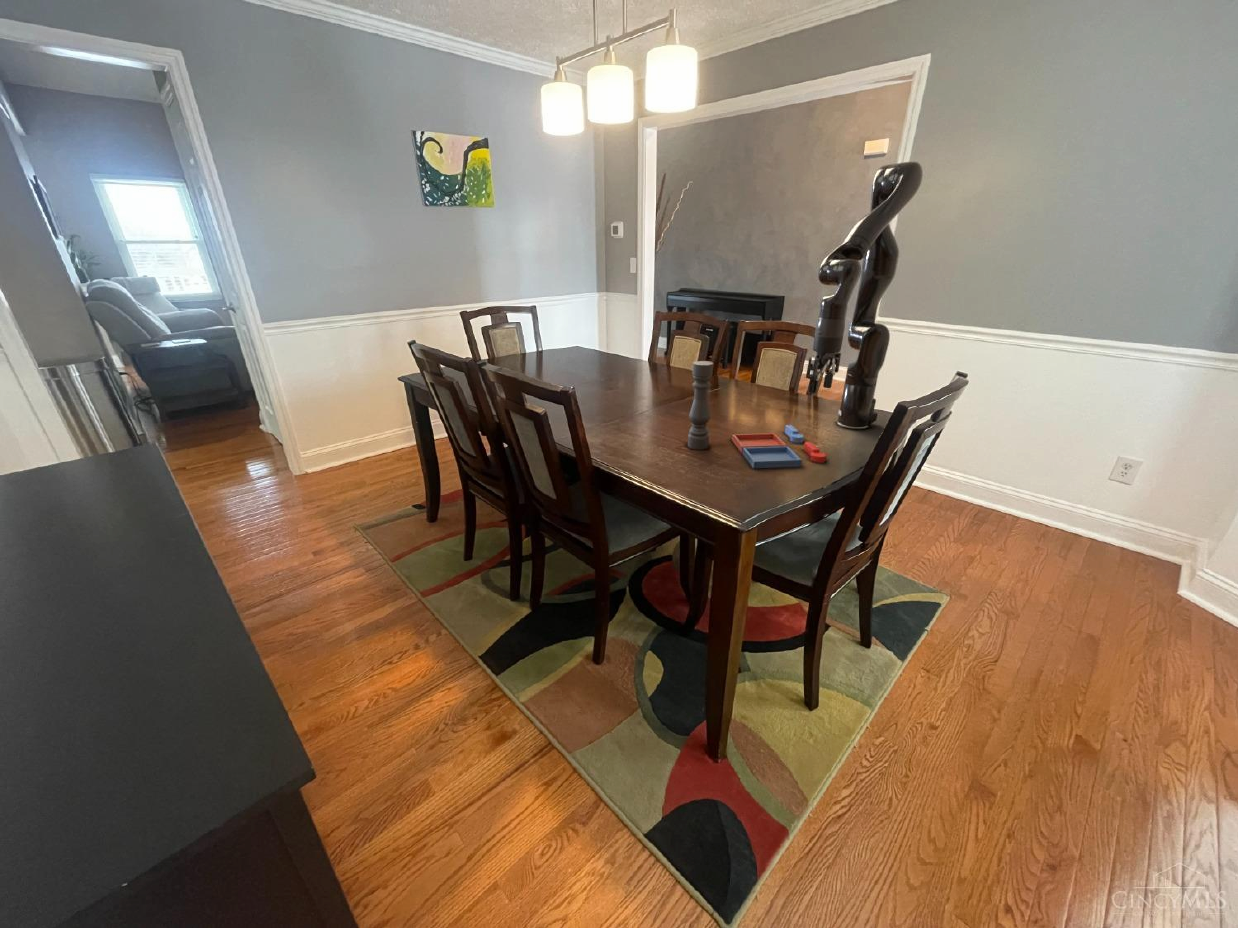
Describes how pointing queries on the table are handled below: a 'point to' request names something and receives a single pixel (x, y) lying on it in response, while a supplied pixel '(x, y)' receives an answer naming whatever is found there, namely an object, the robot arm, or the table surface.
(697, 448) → the candle holder
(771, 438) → the red tray
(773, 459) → the blue tray
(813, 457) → the red stepped block
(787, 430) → the blue stepped block
